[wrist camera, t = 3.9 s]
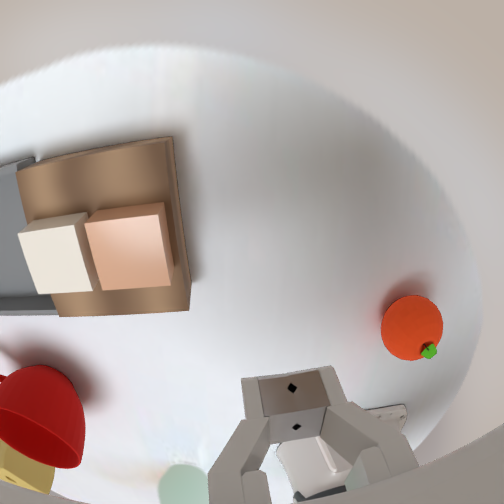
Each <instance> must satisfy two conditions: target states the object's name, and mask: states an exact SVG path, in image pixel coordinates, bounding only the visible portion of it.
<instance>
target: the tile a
mask: <svg viewBox="0 0 504 504" xmlns="http://www.w3.org/2000/svg"><path fill="white" fill-rule="evenodd" d="M87 220H88V214H87V212H83V213H76V214H70V215H63V216H57V217H51V218H45V219H39V220H33V221H32V222H31V223H30V224H28V225H27V226H26V227H25V228H23V229H22V230H21V231H20V232H19V233H18V237H19V240H20V244H21V247H22V250H23V253H24V256H25V259H26V262H27V265H28V268H29V271H30V273H31V276H32V279H33V282H34V284H35V287H36V289H37V292H38V294H51V293H69V292H86V291H93V290H94V288H95V286H96V284H97V282H98V281H99V277H98V274H97V270H96V267H95V263H94V260H93V256H92V252H91V248H90V245H89V241H88V237H87V233H86V229H85V224H84V223H85V222H86V221H87Z"/></svg>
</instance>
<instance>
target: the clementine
mask: <svg viewBox="0 0 504 504" xmlns="http://www.w3.org/2000/svg"><path fill="white" fill-rule="evenodd" d="M442 332H443V320H442V316H441V313H440V311H439V310H438V308H437V306H436V305H435V304H434V303H433V302H431V301H430V300H429V299H427V298H424V297H421V296H418V295H411V296H406V297H402V298H400V299H398V300H397V301H395V302H394V303H393V304H392V305H391V306H390V307H389V308H388V309H387V311H386V312H385V315H384V317H383V320H382V324H381V336H382V340H383V342H384V345H385V346H386V348H387V349H388V350H389V352H390V353H391V354H392V355H394V356H396V357H398V358H400V359H402V360H410V361H413V360H418V359H421V358H423V357H425V358H427V359H431V358H432V357H433V356H434V355H435V354H436V353H437V350H436V346H437V345H438V343H439V341H440V339H441V336H442Z"/></svg>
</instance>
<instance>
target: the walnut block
mask: <svg viewBox="0 0 504 504" xmlns="http://www.w3.org/2000/svg"><path fill="white" fill-rule="evenodd" d="M15 174H16V179H17V184H18V188H19V193H20V197H21V202H22V206H23V210H24V214H25V218H26V221H27V225H28V224H30V223H31V222H32V221H33V220H39V219H45V218H51V217H57V216H63V215H70V214H76V213H83V212H87V214H88V219H89V218H90V217H91V216H92V215H93V214H94V213H95V212H96V211H97V210H104V209H111V208H119V207H126V206H134V205H142V204H151V203H160V202H164V206H165V212H166V219H167V226H168V232H169V238H170V244H171V250H172V256H173V262H174V272H173V277H172V282H171V286H158V287H145V288H131V289H117V290H102V287H101V283H100V280H99V281H98V282H97V284H96V286H95V288H94V290H93V291H86V292H69V293H51V294H50V295H51V297H52V300H53V302H54V305H55V307H56V310H57V312H58V315H59V317H79V316H107V315H128V314H147V313H163V312H178V311H189V305H190V295H191V278H190V272H189V265H188V259H187V252H186V245H185V238H184V231H183V224H182V217H181V209H180V201H179V193H178V185H177V176H176V167H175V157H174V147H173V137H172V136H171V137H163V138H156V139H149V140H142V141H135V142H129V143H123V144H117V145H111V146H106V147H101V148H95V149H90V150H85V151H81V152H76V153H71V154H67V155H62V156H58V157H54V158H50V159H46V160H42V161H39V162H36V163H34V164H32V165H30V166H27V167H25V168H23V169H21V170H19V171H17V172H15Z"/></svg>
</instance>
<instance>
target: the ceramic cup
mask: <svg viewBox="0 0 504 504" xmlns="http://www.w3.org/2000/svg"><path fill="white" fill-rule="evenodd" d="M0 382H1V384H0V439H1V440H3V441H4V442H5V443H6V444H8V445H9V446H10V447H12V448H13V449H15V450H16V451H18V452H19V453H21V454H23V455H25V456H26V457H28V458H30V459H33V460H35V461H37V462H40V463H42V464H45V465H49V466H52V467H57V468H64V469H70V468H75V467H77V466H78V465H80V463H81V460H82V455H83V449H84V441H85V418H84V411H83V407H82V404H81V402H80V399H79V397H78V395H77V393H76V391H75V389H74V387H73V385H72V383H71V382H70V380H69V379H68V378H67V377H66V376H65V375H63V374H62V373H61V372H59V371H58V370H56V369H54V368H52V367H49V366H45V365H36V366H31V367H25V368H22V369H19V370H17V371H15V372H13V373H11V374H10V375H9V376H4V375H0Z"/></svg>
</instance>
